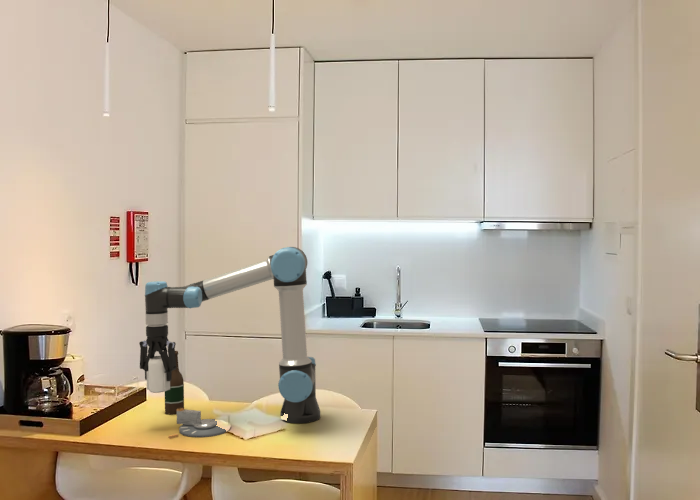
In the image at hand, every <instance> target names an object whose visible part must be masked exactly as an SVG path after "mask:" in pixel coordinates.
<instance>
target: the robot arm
mask: <svg viewBox="0 0 700 500" xmlns="http://www.w3.org/2000/svg"><path fill="white" fill-rule="evenodd" d="M307 268H308V257H307V255H306V253H305V252H304V251H303V250H302V249H300V248H299V247H296V246H287V247H282V248H280V249H279V250H277V251H275V253H274V254H273V255H268V256H267V259H265V260H263V261H259V262H256V263H253V264H250V265H246V266H243V267H240V268H237V269H234V270H231V271H228V272H226V273H221V274H218V275H215V276H212V277H209V278H207V279H204V280H200V281H198V282H197V281H196V282H193V283H190V284H188V285H184V286H168V283H167V282H166V281H161V280H160V281H157V280H156V281H148V282H146V283H145V290H144V300H145V301H144V302H145V303H144V305H145V325H146V327H145V336H146V339H145V340H141V341H139V347H140V353H139V369H140V370H143V371H144V379H145V381H146V390H147V391H149V371H148V362H149V360H150V358H153V357H154V356H156V353H157V352H158V354H159V356H161V358H162V362H163V365H164V368H165V372H164V373H163V377H164V391H167V390H169V389H170V381H171V380H172V371H173V370H175V369H176V368H177V367H176V357H175V351H176V349H175V348H176V344H177V343H176V341H170V340H169V339H168V335H169V325H168V323H169V321H168V319H169V318H168V316H169V315H168V314H169V313H168V312H169V311H168V309H195V308H200V307H201V305H202V303H203V302H205V301H208V300H212V299H215V298H218V297H221V296H225V295H228V294H230V293H234V292H236V291H239V290H242V289H246V288H249V287H252V286H256V285H260V284H262V283H265V282H267V281H268V282H269V281H271V280H272V281H273V287H274V288H275V290H277V291H278V304H279V317H280V331H281V332H280V333H281V334H280V335H281V348H282V349H281V350H282V351H281V352H282V359H281V360H280V361H279V362H278V367H279V368H278V370H279V371H278V372H279V381H278V385H277V386H278V390H279V391H278V392H279V394H280V395H281V397H282V398H283V402H282V405H281V410H280V414H279V415H280V416H283V415H284V413H285V414H288V418H287V422H286V423H291V424H307V423H312V422H316V421H318V420H319V419H320V418H321V409H320V406H319V402H318V400H317V395H316V385H317V384H316V367H317V363H316V358H314V357H313V356H308V353H307V352H308V350H307V335H306V320H305V319H306V318H305V306H304V305H305V303H304V288H305V287H306V286H307V285H308V284H307V282H308V281H307Z"/></svg>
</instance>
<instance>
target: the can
mask: <svg viewBox="0 0 700 500" xmlns="http://www.w3.org/2000/svg"><path fill="white" fill-rule="evenodd" d="M148 371H149V390H148V391H149V392H150V393H152V394H153V393H155V394H157V393H158V394H160V393H165V391H164V377H163V373H164V372H165V368H164V365H163V362H162V358H161V355H154V357H153V358H150V360H149V362H148Z"/></svg>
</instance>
